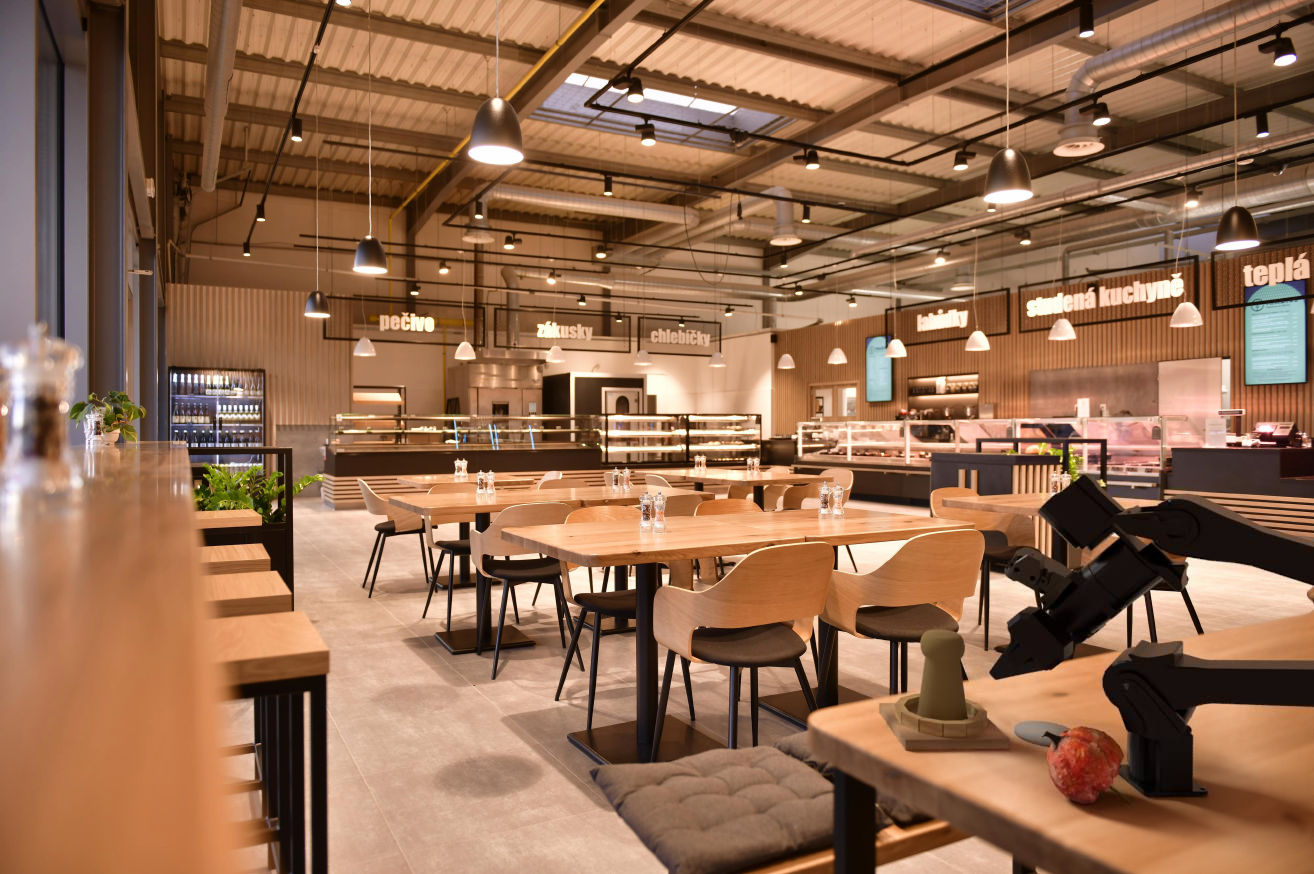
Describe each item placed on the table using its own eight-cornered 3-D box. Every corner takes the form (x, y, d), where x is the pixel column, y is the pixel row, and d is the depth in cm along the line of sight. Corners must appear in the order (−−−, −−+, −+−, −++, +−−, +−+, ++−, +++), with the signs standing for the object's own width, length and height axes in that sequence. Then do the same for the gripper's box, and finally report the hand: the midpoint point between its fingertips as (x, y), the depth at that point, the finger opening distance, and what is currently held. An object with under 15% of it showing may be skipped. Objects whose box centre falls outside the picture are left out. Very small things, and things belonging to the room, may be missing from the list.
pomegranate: (1110, 805, 88) (1027, 735, 91) (1160, 763, 85) (1073, 692, 88) (1103, 844, 82) (1015, 768, 85) (1157, 800, 78) (1063, 722, 82)
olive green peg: (940, 707, 107) (940, 622, 107) (979, 722, 102) (979, 633, 101) (906, 716, 104) (906, 629, 104) (944, 732, 99) (944, 640, 99)
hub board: (1009, 748, 97) (1009, 725, 97) (905, 749, 97) (905, 726, 97) (971, 711, 109) (971, 690, 109) (879, 712, 109) (879, 691, 109)
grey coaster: (1089, 746, 97) (1089, 743, 97) (1029, 746, 98) (1029, 743, 98) (1061, 723, 104) (1061, 720, 104) (1004, 724, 105) (1004, 720, 104)
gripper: (1075, 517, 101) (984, 597, 108) (1026, 537, 87) (925, 627, 94) (1150, 590, 96) (1049, 668, 103) (1112, 623, 82) (998, 711, 89)
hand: (1005, 666), depth 98 cm, fingers open, 9 cm apart
